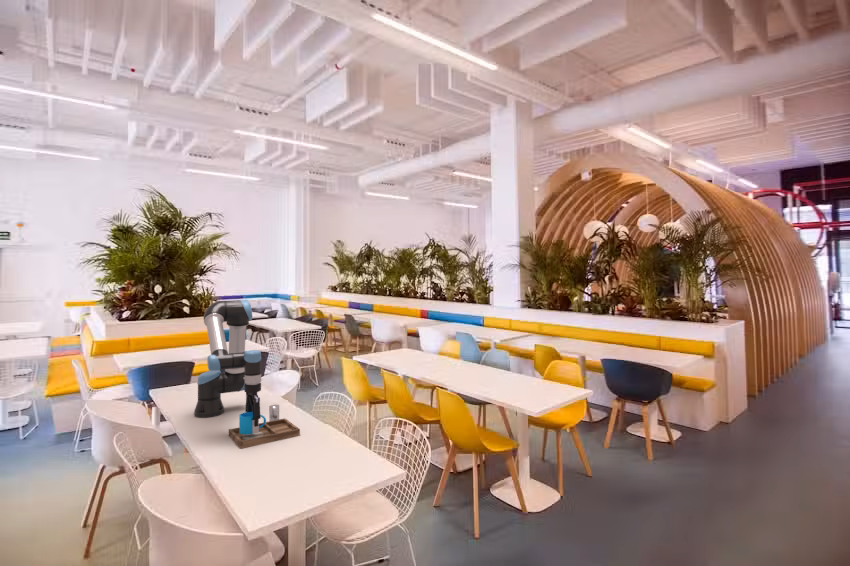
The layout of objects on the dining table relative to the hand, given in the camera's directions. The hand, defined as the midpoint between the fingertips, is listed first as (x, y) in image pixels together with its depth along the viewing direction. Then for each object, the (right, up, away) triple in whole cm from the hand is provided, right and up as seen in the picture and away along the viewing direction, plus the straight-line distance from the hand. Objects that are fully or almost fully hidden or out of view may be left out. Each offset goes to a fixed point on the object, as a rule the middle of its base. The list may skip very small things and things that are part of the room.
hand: (252, 430), depth 212 cm
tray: (+4, -4, +4) cm, 7 cm away
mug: (0, 0, 0) cm, 1 cm away
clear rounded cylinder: (+3, -3, +22) cm, 22 cm away
